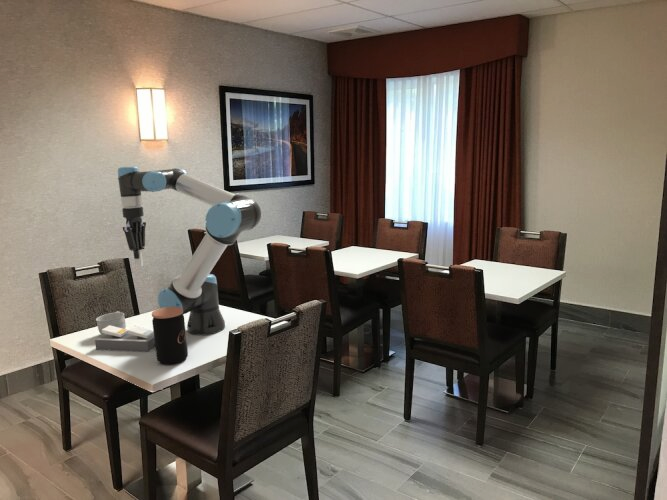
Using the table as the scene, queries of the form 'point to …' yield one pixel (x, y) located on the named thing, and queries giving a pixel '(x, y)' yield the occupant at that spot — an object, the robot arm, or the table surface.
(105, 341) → the power strip
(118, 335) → the rocker amber
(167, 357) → the coffee jar
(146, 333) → the white flat packet
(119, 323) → the teacup
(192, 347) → the table surface
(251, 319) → the table surface
